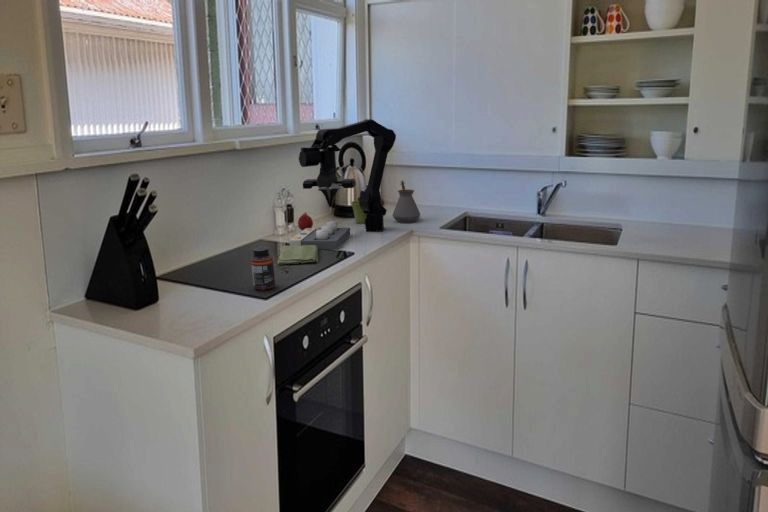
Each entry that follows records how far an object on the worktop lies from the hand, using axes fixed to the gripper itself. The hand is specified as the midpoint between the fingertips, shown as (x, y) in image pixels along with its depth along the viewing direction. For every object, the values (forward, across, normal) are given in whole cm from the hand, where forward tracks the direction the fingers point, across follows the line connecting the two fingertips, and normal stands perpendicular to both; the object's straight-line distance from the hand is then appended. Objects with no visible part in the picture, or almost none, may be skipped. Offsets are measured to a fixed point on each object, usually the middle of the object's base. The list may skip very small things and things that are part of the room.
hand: (330, 206), depth 221 cm
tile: (+12, -9, -7) cm, 16 cm away
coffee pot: (+12, +23, +35) cm, 44 cm away
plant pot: (+12, +6, +28) cm, 31 cm away
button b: (+9, 0, -7) cm, 12 cm away
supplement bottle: (+12, -4, -61) cm, 62 cm away
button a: (+10, 0, 0) cm, 10 cm away
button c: (+10, 0, -14) cm, 17 cm away
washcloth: (+12, -4, -29) cm, 32 cm away
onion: (+12, -13, +9) cm, 20 cm away
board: (+12, 0, -7) cm, 14 cm away
